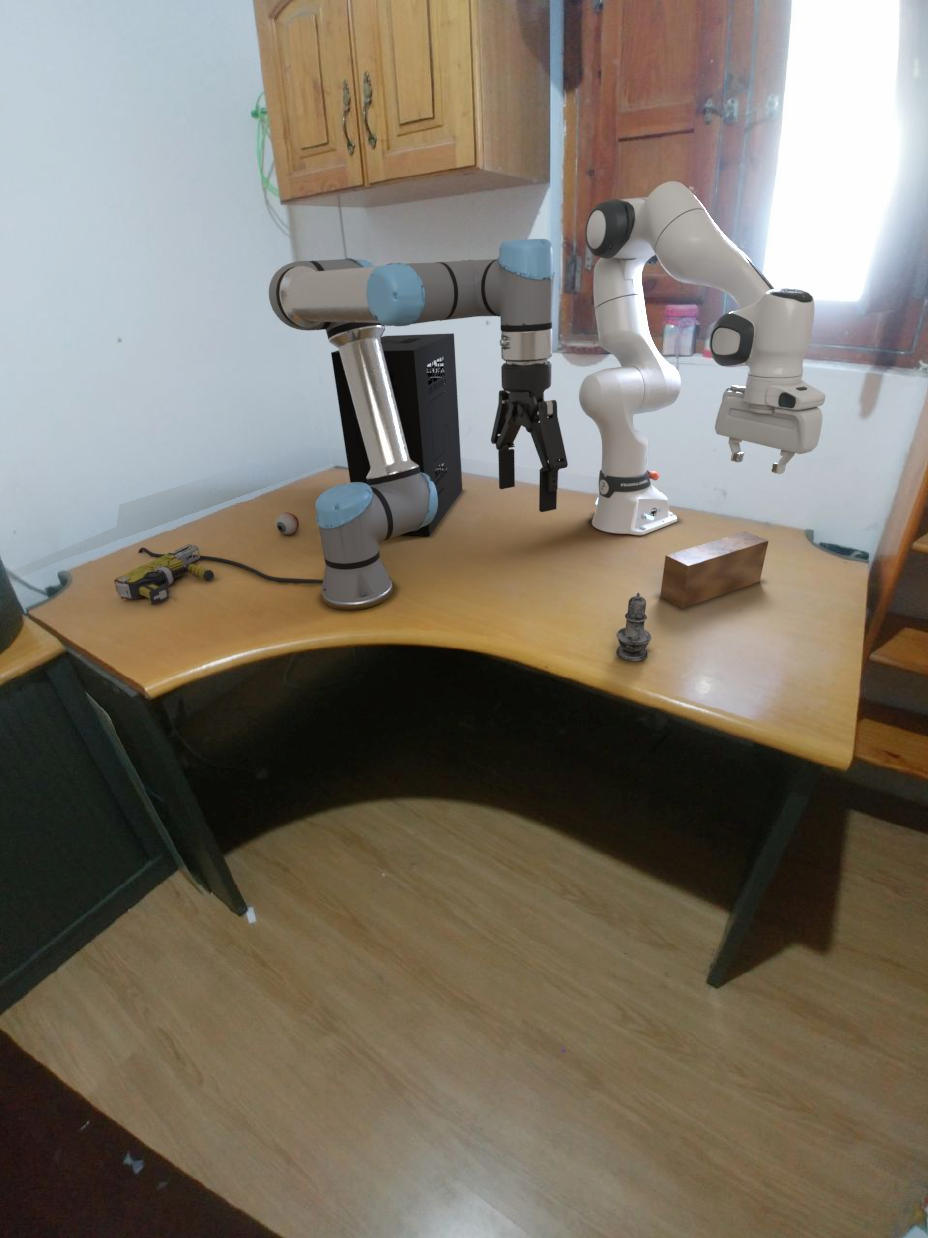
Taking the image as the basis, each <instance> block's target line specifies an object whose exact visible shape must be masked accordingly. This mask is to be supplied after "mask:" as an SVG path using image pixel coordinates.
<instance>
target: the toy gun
mask: <svg viewBox="0 0 928 1238" xmlns="http://www.w3.org/2000/svg"><path fill="white" fill-rule="evenodd" d="M196 552H197V555H199V556H197V557H196V556H194V557H195V558H193V555H194V553H196ZM165 554H166V555H164V556H162V557H156V558H155V559H154V560H151V561H150V562H147V563H145V564H142V565H140V566H138V567H137V568H135V569H132V570H130V571H128V572H126V573H123V574H122V575H120V576H118V577H116V578H114V580H113V584H114V586H115V590H116V593H117V594H118V596H119V597H120V599H122V600H126V601H127V600H129V599H133V600H135V599H141V598H144V597H145V598H147V599H149V600H150V604H151V606H155V605H158V604H160V603H163V601H167V600H169V599H170V595H169V590H168V587H169V586H171V585H173V583H174V580H175V579H177V578H180V577H183V576H185V575H186V574H187V573H188V574H190V575H192V576H196V577H199V578H200V579H203V580H205V581H209V582H210V581H211V580H213V579H214V578H215V574H214V571H212V570H211V569H207V568H205V567H203V566H199V565H196V564H194V563H195V562H196V561H197V560H201V559H200V549H199V546H198V545H195V544H193V545H192V544H190V543H188V544H187V545H185V546H183V547H181V548H179V549H177V550H174V551H173V552H168V553H165ZM191 555H192V557H190V556H191Z"/></svg>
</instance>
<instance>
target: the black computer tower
mask: <svg viewBox="0 0 928 1238" xmlns="http://www.w3.org/2000/svg"><path fill="white" fill-rule="evenodd" d="M380 341H381V345H382V349H383V353H384V357H385V361H386V365H387V369H388V373H389V377H390V381H391V385H392V389H393V393H394V397H395V401H396V405H397V409H398V413H399V417H400V421H401V425H402V429H403V433H404V437H405V441H406V445H407V449H408V453H409V457H410V459H411V460H412V461H414V462H415V463H417V464H418V465H419V468H420V472H422V473H425V474H427V475H428V476H429V477H430V478H431V481H433V483H434V485H435V487H436V491H437V496H438V507H437V512H436V514H435V515H434V519H433V520H432V521H431V522H430V523H429V524H428V525H426V526H423V527H421V528H419V529H418V530H416V531H410V532H407V533H404V534H402V536H421V537H422V536H423V537H431V535H432V534H433V532H434V531H435V529H436V528H437V526H438V525H439V524H440V522H441V521H442V520H443V518H444V517H445V516H446V514H447V513H448V512H449V509H451V507H452V506H453V504H454V503H455V501H456V500H457V499H458V497H459V496H460V495H461V494H462V491H463V475H462V458H461V457H462V456H461V455H462V454H461V440H460V437H461V436H460V421H459V418H460V417H459V404H458V403H459V402H458V400H459V399H458V383H457V381H458V380H457V365H456V363H457V362H456V346H455V345H456V344H455V333H453V332H452V333H429V334H427V333H426V334H425V333H424V334H423V333H422V334H399V335H384V336H383V335H382V337H381V340H380ZM330 355H331V361H332V368H333V375H334V382H335V389H336V395H337V402H338V409H339V416H340V422H341V430H342V436H343V443H344V449H345V455H346V462H347V469H348V476H349V483H351V482H362V483H366V484H368V483H367V479H366V477H367V475H368V473H369V471H370V468H371V467H370V463H369V459H368V456H367V452H366V448H365V445H364V441H363V437H362V433H361V430H360V426H359V422H358V419H357V415H356V411H355V407H354V404H353V400H352V396H351V393H350V389H349V385H348V381H347V378H346V374H345V370H344V367H343V363H342V359H341V355H340V352H339V349H337V350H335V351H332V352H330ZM438 360H439V361H438ZM435 363H436V364H435ZM428 365H430V366H428Z"/></svg>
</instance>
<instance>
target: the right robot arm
mask: <svg viewBox="0 0 928 1238" xmlns="http://www.w3.org/2000/svg"><path fill="white" fill-rule="evenodd" d="M584 233H585V241H586V245H587V248H588V250H589V251H590V253H591V254H592V255H593V256H595V257H598V258H599V259H598V260H597V261H596V262H595V265H594V268H593V279H592V280H593V282H592V283H593V284H592V285H593V287H592V288H593V304H594V305H593V306H594V314H595V322H596V328H597V335H598V336H597V337H598V342H599V344H600V346H601V348H602V349H603V350H605V351H606V352H607V353H610V354H611V355H613V356H614V357H615V358H616V359H617V361H618V363H619V364H620V366H618V367H617V366H616V367H609V368H604V369H601V370H598V371H595V372H592V373H591V374H588V375H587V376H585V377H584V378H583V380H582V382H581V384H580V387H579V390H578V402H579V406H580V408H581V409H582V411H583V413H584V414H585V415H586V416H587V417H589V418H590V419H591V420H592V421H593V422H594V423H595V425H596V426H597V429H598V431H599V434H600V438H601V468H600V470H599V474H598V492H599V493H598V496H597V499H596V501H595V505H596V507H595V511H594V514H593V517H592V520H591V525H592V526H593V527H594V528H595V529H597V530H599V531H601V532H605V533H611V534H623V535H625V534H626V535H632V536H633V535H634V536H645V535H646V534H650V533H652V532H654V531H657V530H660V529H662V528H665V527H668V526H670V525H672V524H675V523H677V522H678V516H677V515H676V514H675V513H674V512H672V511H670V503H669V502H670V501H669V498H668V497H667V496H666V495H665V494H664V493H663V492H662V491H661V490H660V489H658V488H656V487H655V486H654V485H652V483H651V480H653V481H658V479H659V478H660V473H659V472H657V471H654V470H651V471H649V470H648V469H647V466H648V458H649V457H648V455H649V446H650V443H649V440H648V438H647V437H646V435H645V434H644V433H643V432H641V431H639V430H638V429H636V428H635V426H634V416H635V415H639V414H645V413H652V412H653V413H654V412H656V411H659V410H663V409H664V408H667V407H669V406H671V405H673V404H674V403H675V402H676V401H677V399H678V398H679V395H680V392H681V387H682V379H681V376H680V374H679V371H678V370H677V368H676V367H675V366H674V365H672V364H670V362H668V361H667V360H666V359H665V358H664V357H663V355H662V354H661V353H660V351H659V350H658V349H657V347H656V345H655V343H654V341H653V339H652V336H651V333H650V329H649V324H648V317H647V311H646V304H645V298H644V297H645V296H644V289H643V284H642V273H643V270H644V267H645V265H648V266H651V267H653V266H656V265H657V264H658V263H659V264H660V266H661V267H662V269H664V271H665V272H666V273H667V274H668V275H669V276H670V277H672V278H673V280H675V281H678V282H680V283H683V284H690V285H695V286H702V287H709V288H712V289H715V290H719V291H721V292H723V293H725V294H726V295H728V296H729V297H730V298H731V299H732V301H733V302H734V303H735V304H736V305H737V306H738V309H736V310H733V311H731V312H728V313H724V314H723V315H721V316H720V317H719V318H718V319H717V321H716V322H715V323H714V325H713V327H712V329H711V331H710V335H709V342H708V343H709V344H708V346H709V352H710V356H711V357H712V359H713V361H714V362H715V363H716V364H717V365H719V366H721V367H725V368H726V367H727V368H737V367H748V371H747V377H746V381H745V386H739V385H736V384H735V385H730V387H727V388H726V389H725V390H724V391H723V393H722V399H721V402H720V405H719V408H718V411H717V415H716V420H715V424H714V430H715V433H716V434H717V435H719V436H723V437H727V438H728V446H729V449H730V452H731V455H730V461H731V462H734V463H741V462H743V460H744V456H745V452H744V451H742V448H741V444H740V443H742V442H743V441H744V442H746V443H747V442H748V443H752V444H756V445H760V446H763V447H764V446H765V447H769V448H772V449H776V450H780V454H779V456H781V458H780V459H779V460H778V461H777V462H773V463H772V468H771V472H772V473H774V474H777V475H782V474H784V473H785V471H786V467H787V464H789V462H790V461H791V460H792V458H794V456H795V454H797V455H803V454H807V453H811V452H812V451H813V450H815V449H816V448H817V446H818V445H819V440H820V436H821V433H822V426H823V412H822V410H821V408H820V407H821V406H823V405H824V404H825V401H826V394H825V393H824V392H823V391H822V390H820V389H818V388H815V387H814V386H812V385H810V384H809V383H807V382H806V381H804V380H803V374H804V365H803V364H804V358H805V355H806V353H807V351H808V350H809V347H810V342H811V338H812V334H813V333H812V332H813V327H814V321H815V320H814V319H815V300H814V299H815V298H814V297H813V295H811V294H810V293H809V292H807V291H805V290H802V289H798V288H788V287H787V288H786V287H783V288H781V287H779V288H775V287H774V286H773V285H772V283H770V282H769V280H768V278H766V276H765V275H764V273H762V271H761V270H760V269H759V268H758V267H757V265H756V264H755V263H754V262H753V261H752V259H751V258H749V256H748V255H747V254H745V252H744V251H742V250H741V249H740V248H739V246H737V245H736V244H735V243H733V241H731V240H730V239H729V238H728V237H727V235H725V234H724V232H723V231H722V230H721V229H720V228H719V226H718V225H717V224H716V223H715V222H714V220H713V219H712V217H711V216H710V214H709V212H708V211H707V210H706V208H705V206H704V205H703V204H702V202H701V201H700V200H699V199H698V198H697V196H696V195H695V194H694V193H693V192H692V190H690V189H689V188H688V187H687V186H686V185H684V184H683V183H681V182H679V181H675V180H674V181H673V180H672V181H671V180H670V181H667V182H663V183H662V184H660V185H657V187H655V188H654V189H653V190H652V191H651V192H650V193H649V195H647V196H646V197H644V196H638V197H631V198H623V199H618V198H612V199H607V200H604V201H601V202H599V203H597V204H596V205H595V206H594V207H593V209H592V210H591V211H590V213H589V216H588V218H587V221H586V226H585V231H584Z"/></svg>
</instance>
